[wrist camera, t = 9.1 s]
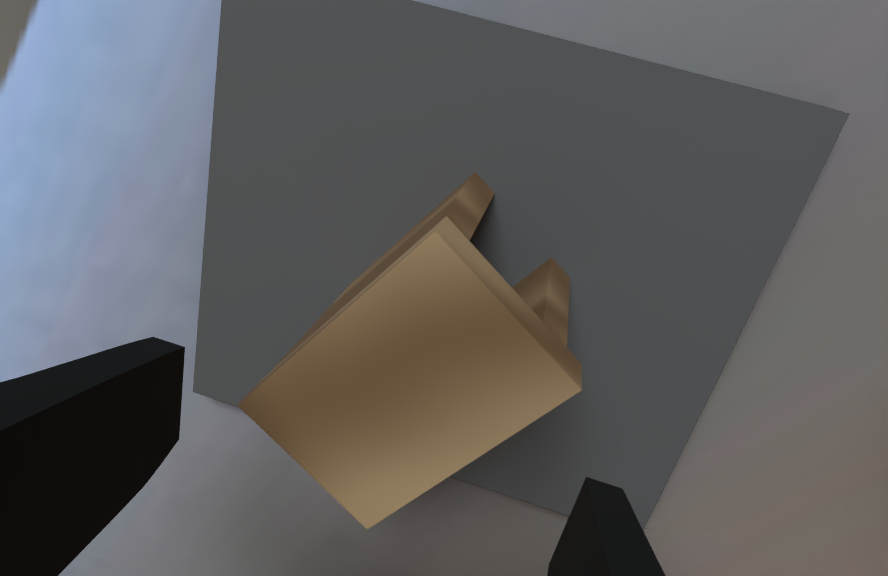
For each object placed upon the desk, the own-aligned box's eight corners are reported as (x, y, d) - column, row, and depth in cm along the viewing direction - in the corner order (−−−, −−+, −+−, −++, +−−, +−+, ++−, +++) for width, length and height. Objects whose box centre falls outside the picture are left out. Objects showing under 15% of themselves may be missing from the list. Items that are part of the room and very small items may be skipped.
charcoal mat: (833, 108, 16) (849, 113, 15) (636, 517, 21) (638, 538, 20) (244, -43, 17) (225, -48, 16) (208, 377, 23) (192, 391, 22)
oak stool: (581, 269, 17) (581, 390, 11) (430, 381, 20) (367, 529, 14) (485, 161, 17) (435, 231, 11) (342, 290, 19) (237, 405, 13)
